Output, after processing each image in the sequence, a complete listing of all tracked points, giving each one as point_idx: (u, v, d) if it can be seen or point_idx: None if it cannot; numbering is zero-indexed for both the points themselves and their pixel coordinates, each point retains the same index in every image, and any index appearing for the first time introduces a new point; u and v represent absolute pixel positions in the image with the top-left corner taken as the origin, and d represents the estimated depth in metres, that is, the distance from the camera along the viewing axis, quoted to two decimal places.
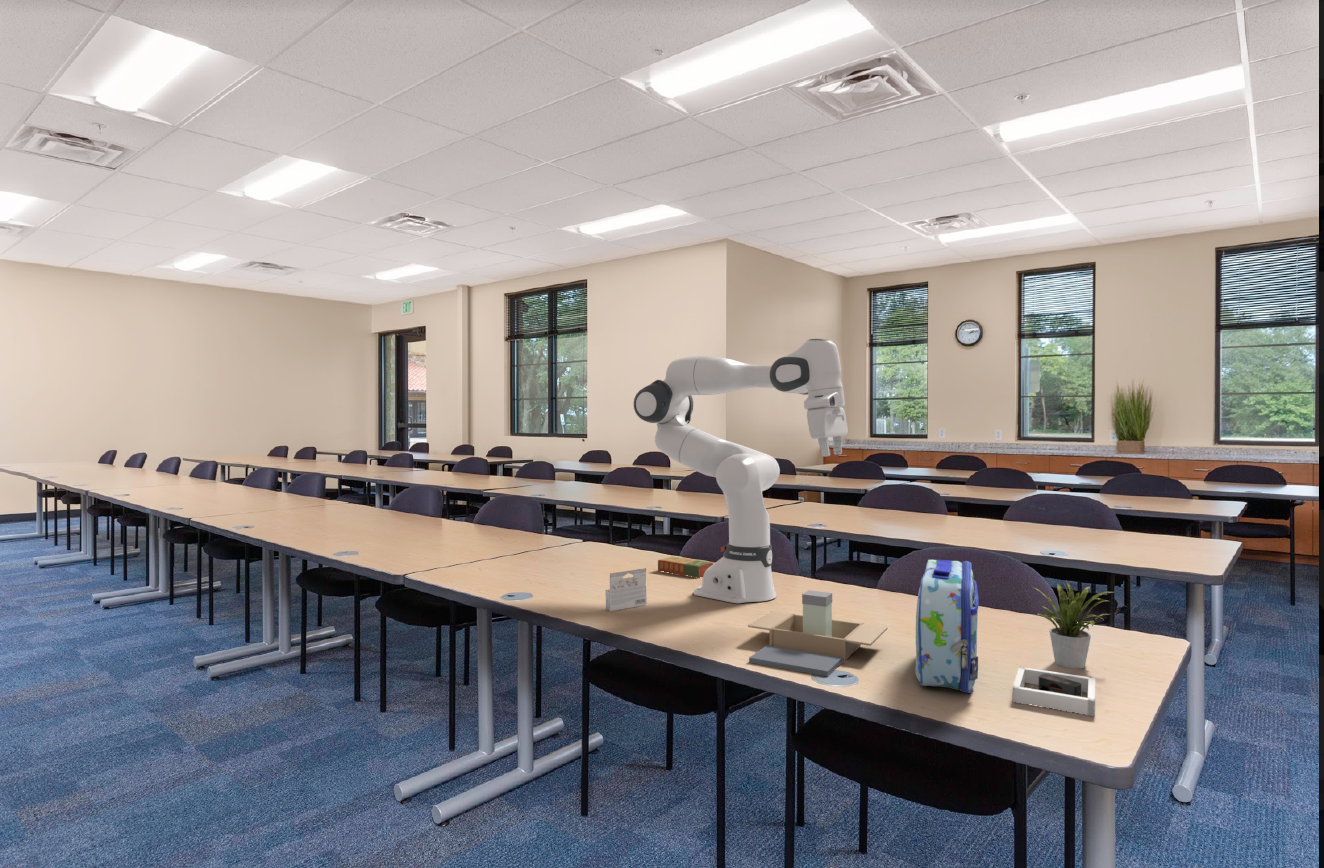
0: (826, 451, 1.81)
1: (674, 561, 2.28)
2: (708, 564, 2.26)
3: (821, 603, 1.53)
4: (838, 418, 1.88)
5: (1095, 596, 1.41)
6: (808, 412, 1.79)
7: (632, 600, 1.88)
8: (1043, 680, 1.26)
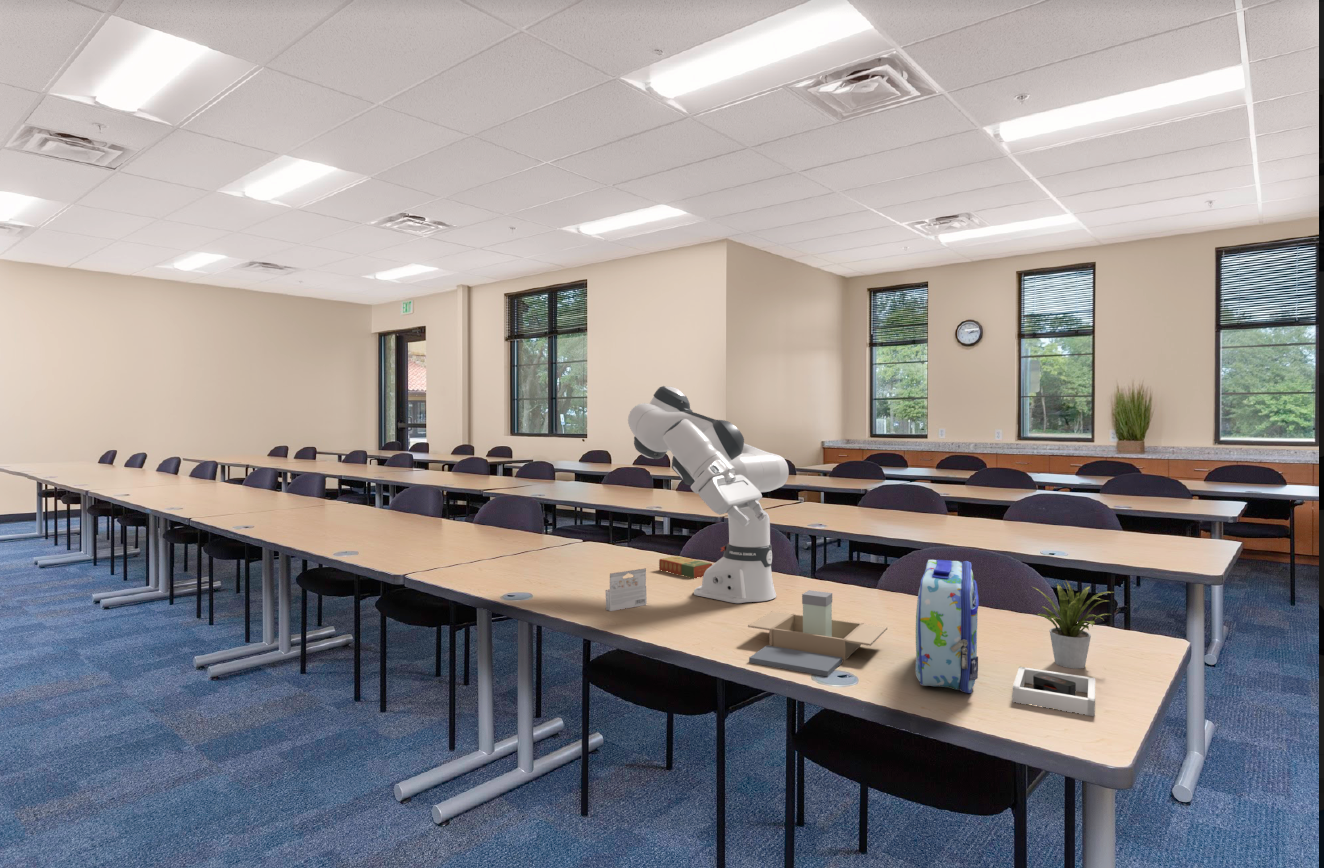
0: (743, 519, 1.58)
1: (673, 561, 2.29)
2: (706, 565, 2.24)
3: (821, 603, 1.53)
4: (740, 484, 1.68)
5: (1095, 596, 1.41)
6: (699, 493, 1.59)
7: (632, 600, 1.88)
8: (1038, 679, 1.27)
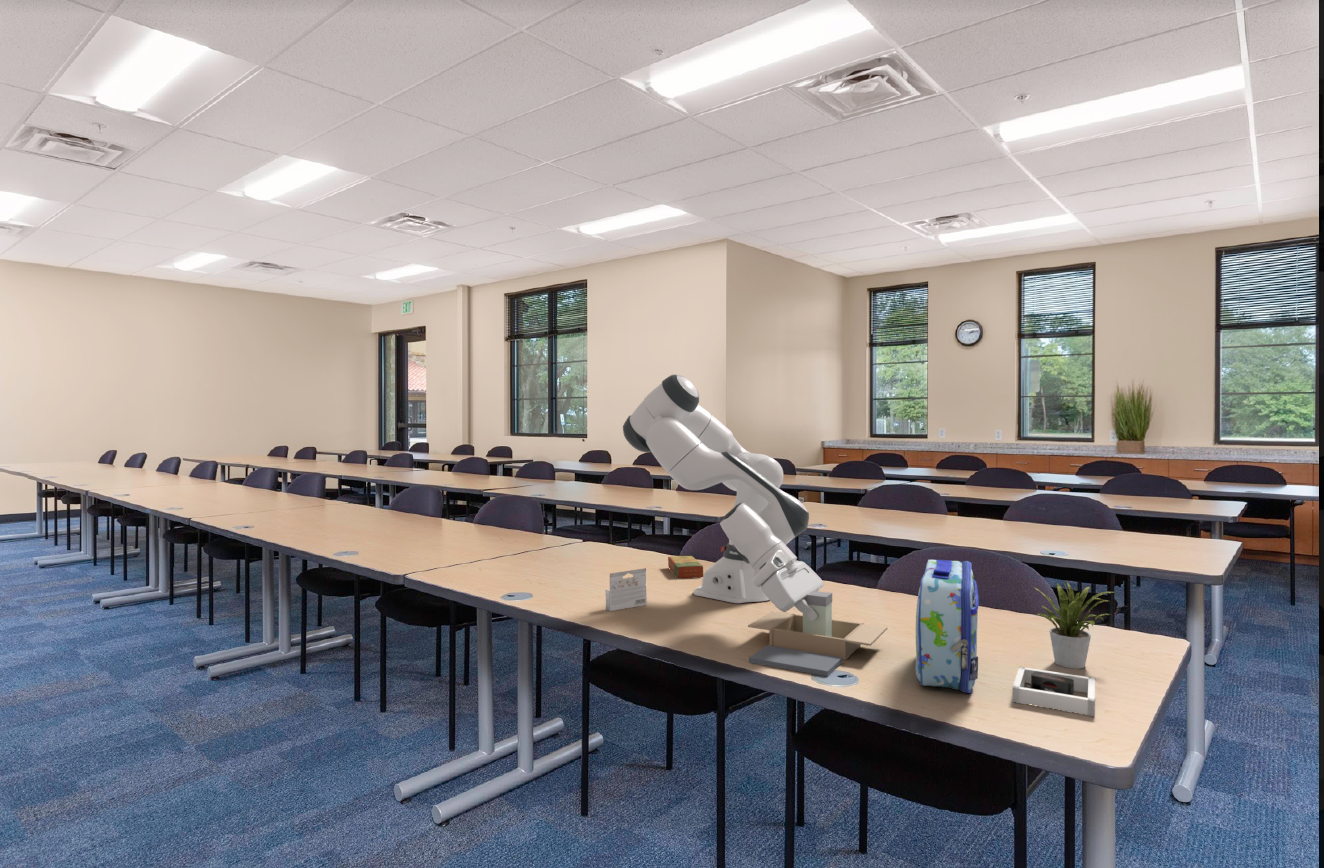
0: (812, 613, 1.53)
1: (674, 559, 2.31)
2: (694, 567, 2.22)
3: (821, 603, 1.53)
4: (801, 574, 1.61)
5: (1095, 596, 1.41)
6: (762, 588, 1.52)
7: (632, 600, 1.88)
8: (1037, 678, 1.27)
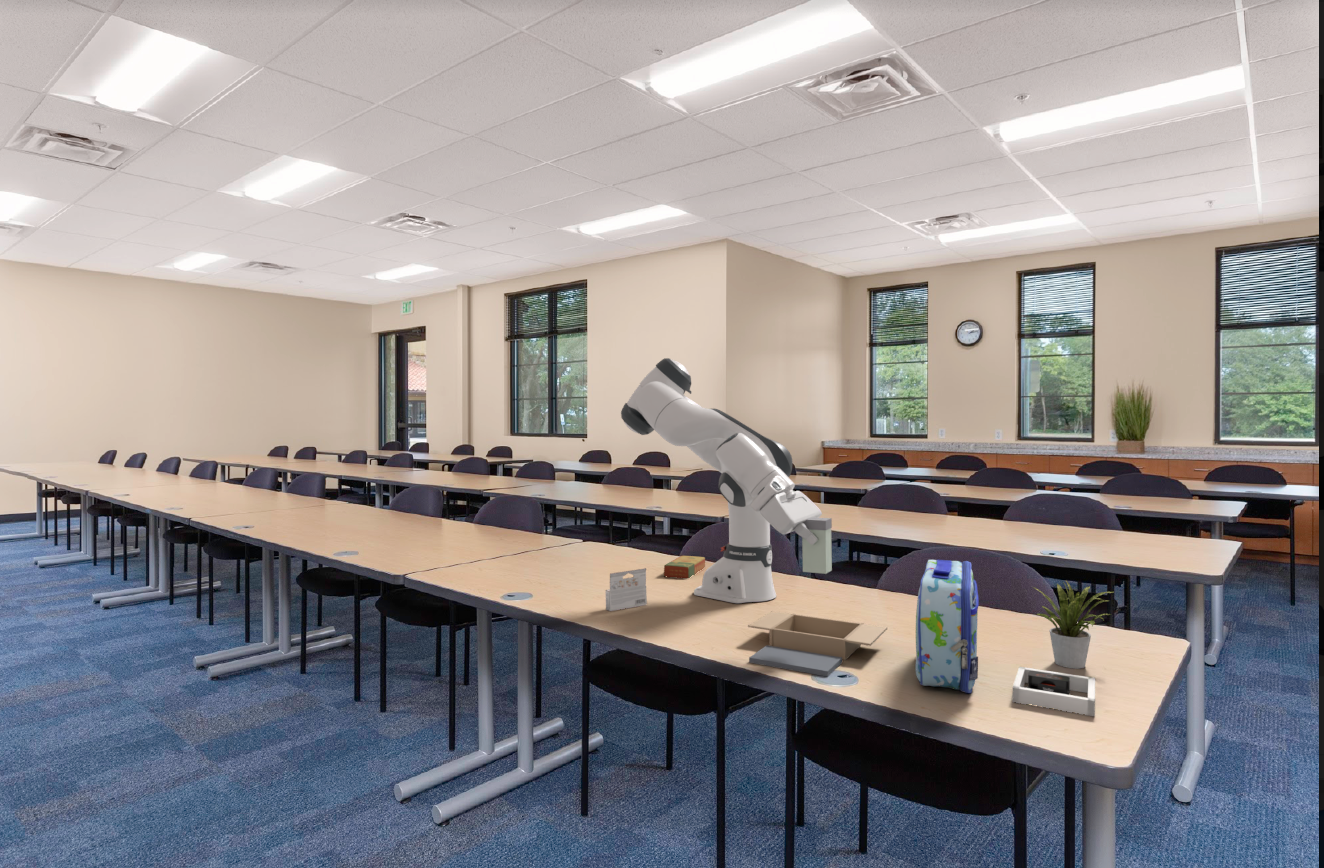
0: (811, 537, 1.50)
1: (678, 558, 2.33)
2: (680, 567, 2.22)
3: (821, 527, 1.51)
4: (800, 501, 1.59)
5: (1095, 596, 1.41)
6: (761, 512, 1.50)
7: (632, 600, 1.88)
8: (1035, 678, 1.27)
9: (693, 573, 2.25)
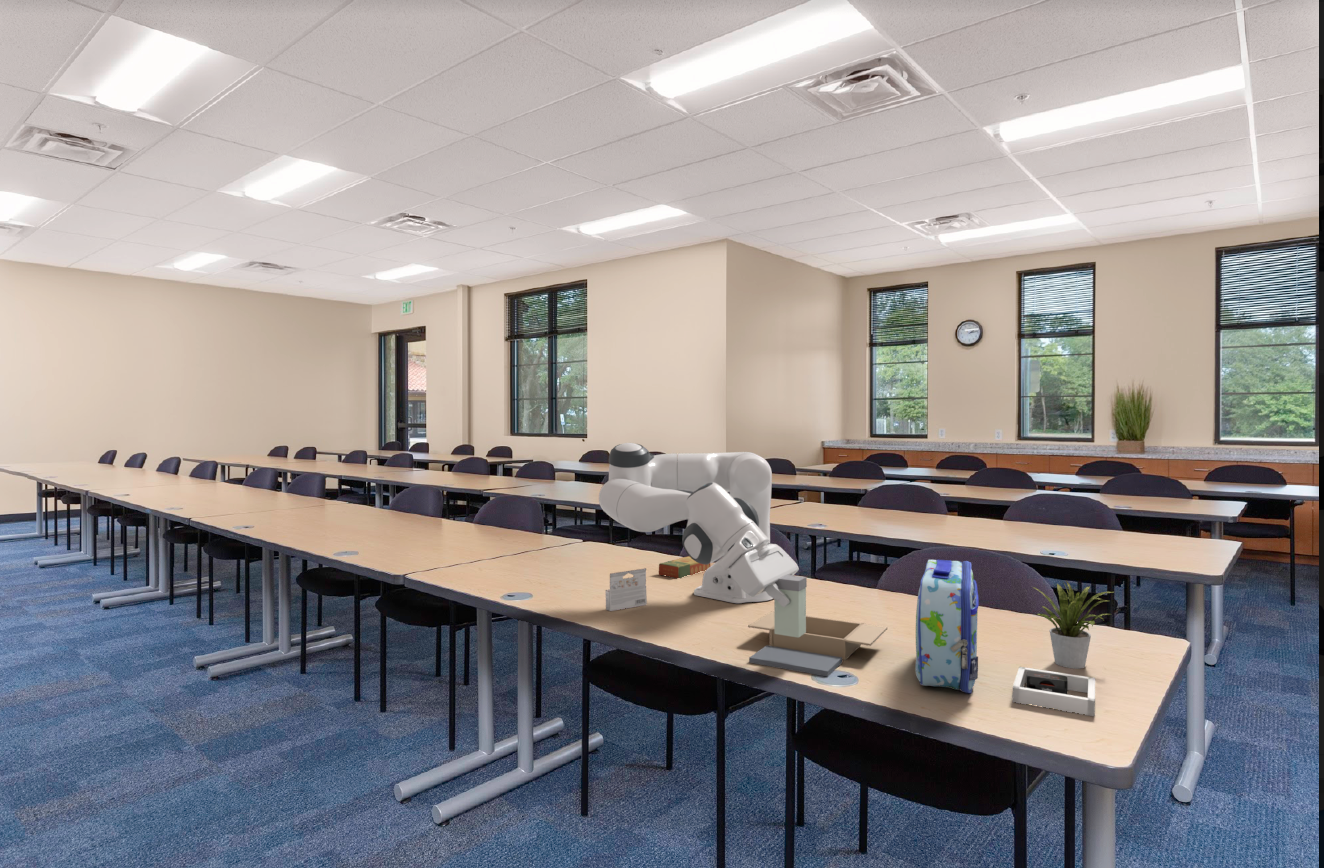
0: (783, 599, 1.41)
1: (681, 558, 2.33)
2: (672, 566, 2.23)
3: (794, 587, 1.41)
4: (774, 557, 1.49)
5: (1095, 596, 1.41)
6: (730, 571, 1.41)
7: (632, 600, 1.88)
8: (1033, 679, 1.27)
9: (687, 573, 2.24)
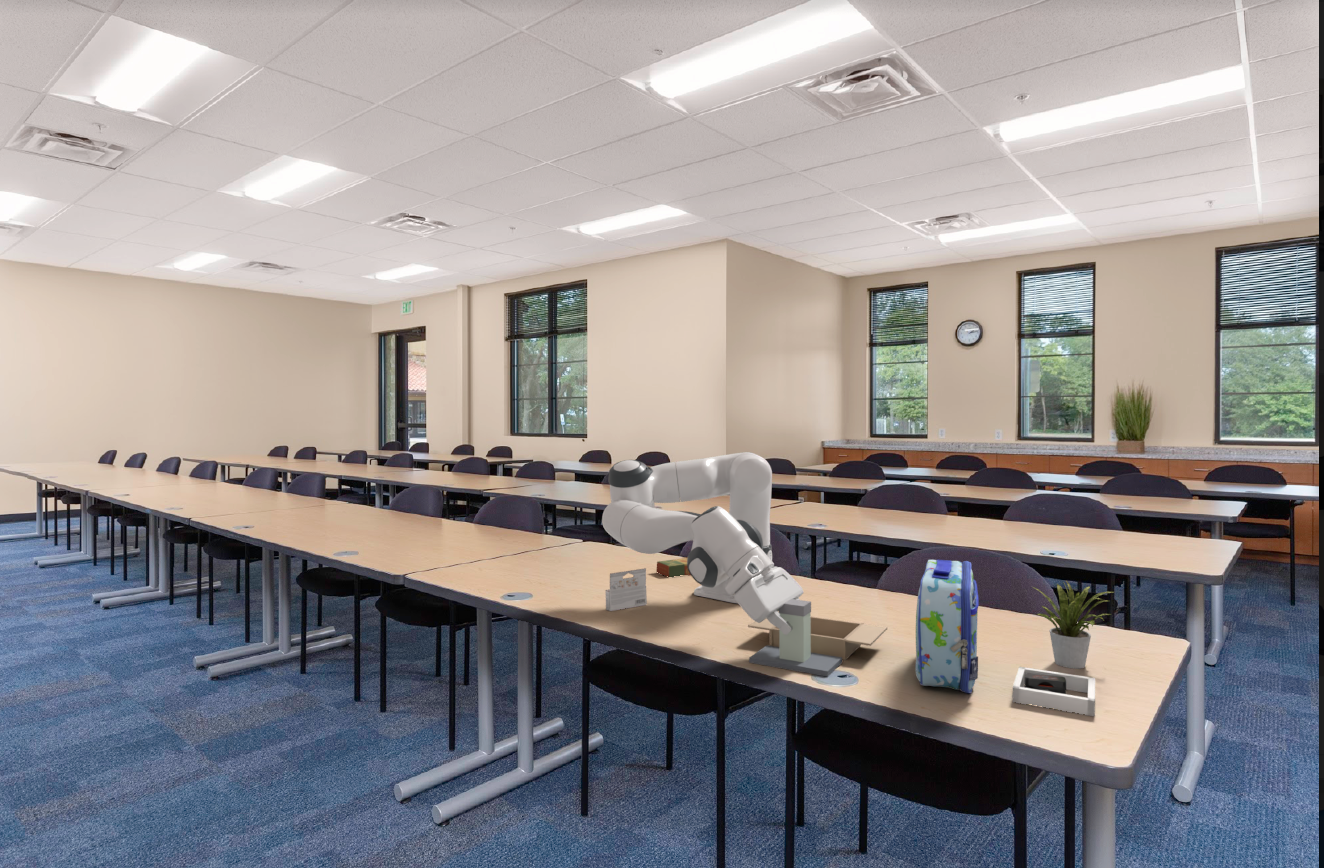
0: (785, 626, 1.40)
1: (686, 558, 2.33)
2: (665, 565, 2.25)
3: (799, 613, 1.42)
4: (779, 581, 1.50)
5: (1095, 596, 1.41)
6: (736, 597, 1.41)
7: (632, 600, 1.88)
8: (1032, 680, 1.27)
9: (681, 573, 2.25)
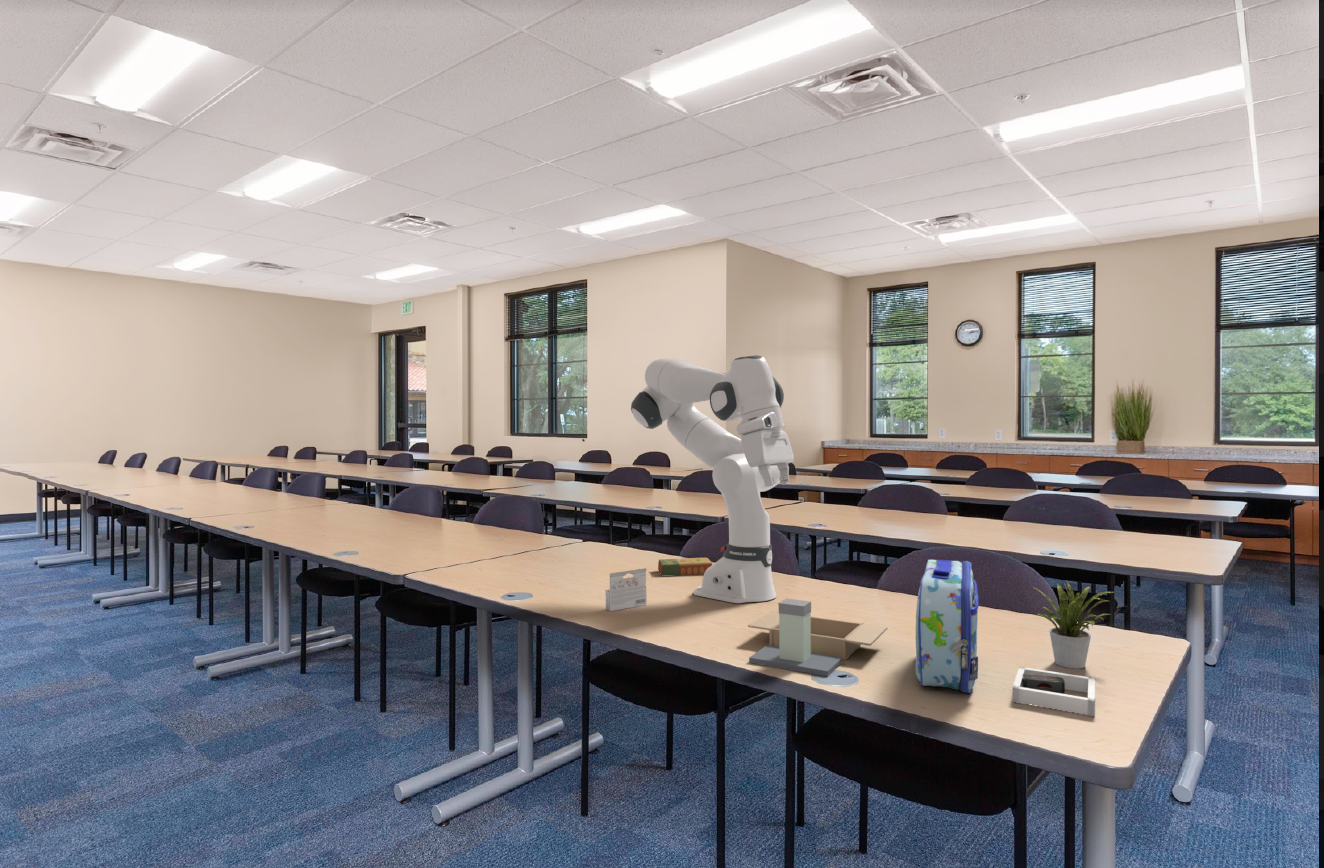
0: (769, 480, 1.57)
1: (689, 558, 2.33)
2: (661, 563, 2.27)
3: (799, 613, 1.42)
4: (780, 443, 1.65)
5: (1095, 596, 1.41)
6: (742, 437, 1.56)
7: (632, 600, 1.88)
8: (1031, 681, 1.26)
9: (676, 573, 2.25)
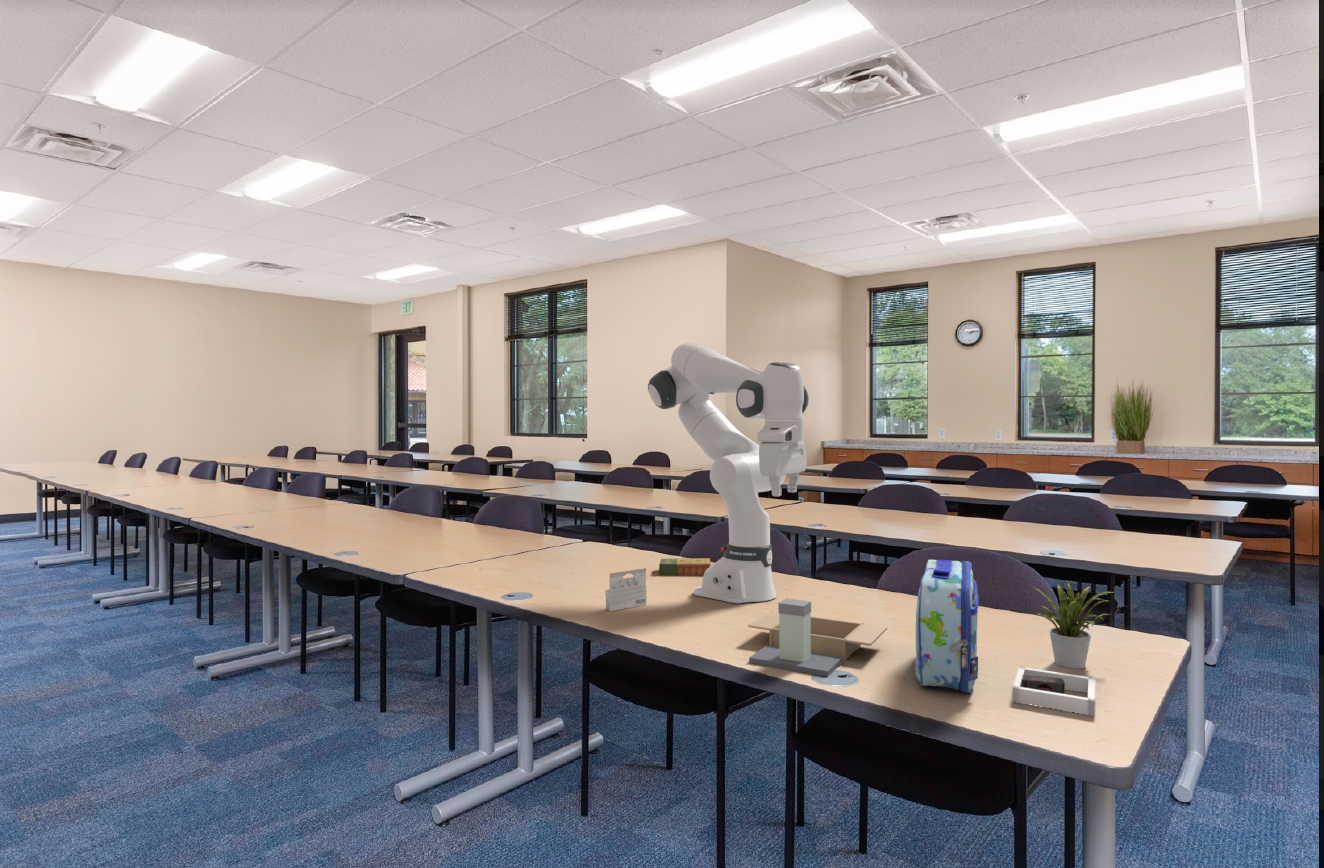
0: (777, 491, 1.61)
1: None
2: (660, 562, 2.29)
3: (799, 613, 1.42)
4: (796, 453, 1.68)
5: (1095, 596, 1.41)
6: (760, 446, 1.59)
7: (632, 600, 1.88)
8: (1031, 682, 1.25)
9: (673, 572, 2.26)
